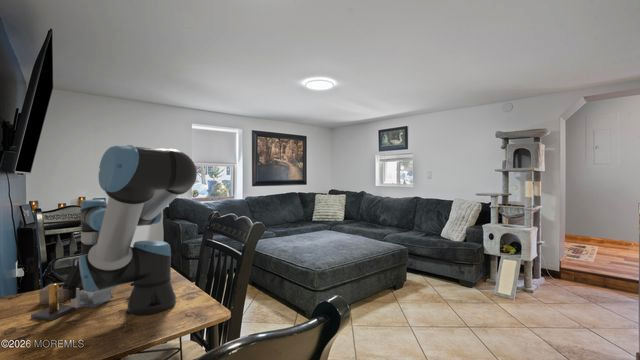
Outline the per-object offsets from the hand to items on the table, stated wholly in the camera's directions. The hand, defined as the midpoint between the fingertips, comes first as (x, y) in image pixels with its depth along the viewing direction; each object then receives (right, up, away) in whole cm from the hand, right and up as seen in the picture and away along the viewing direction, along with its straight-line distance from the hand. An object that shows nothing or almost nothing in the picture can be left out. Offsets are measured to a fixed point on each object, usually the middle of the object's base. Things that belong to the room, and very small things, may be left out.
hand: (94, 298), depth 109 cm
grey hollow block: (0, -1, -1) cm, 1 cm away
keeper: (-7, -1, -10) cm, 12 cm away
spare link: (-16, -1, +2) cm, 16 cm away
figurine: (+10, -1, +11) cm, 15 cm away
